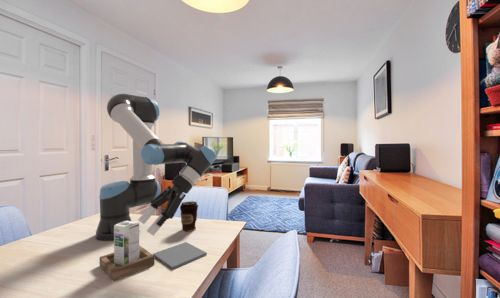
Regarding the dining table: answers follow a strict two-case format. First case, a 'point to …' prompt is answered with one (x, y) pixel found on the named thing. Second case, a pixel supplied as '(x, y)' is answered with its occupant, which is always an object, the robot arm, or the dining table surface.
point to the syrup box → (126, 242)
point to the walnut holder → (128, 268)
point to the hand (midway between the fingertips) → (145, 227)
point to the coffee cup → (188, 215)
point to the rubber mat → (179, 255)
